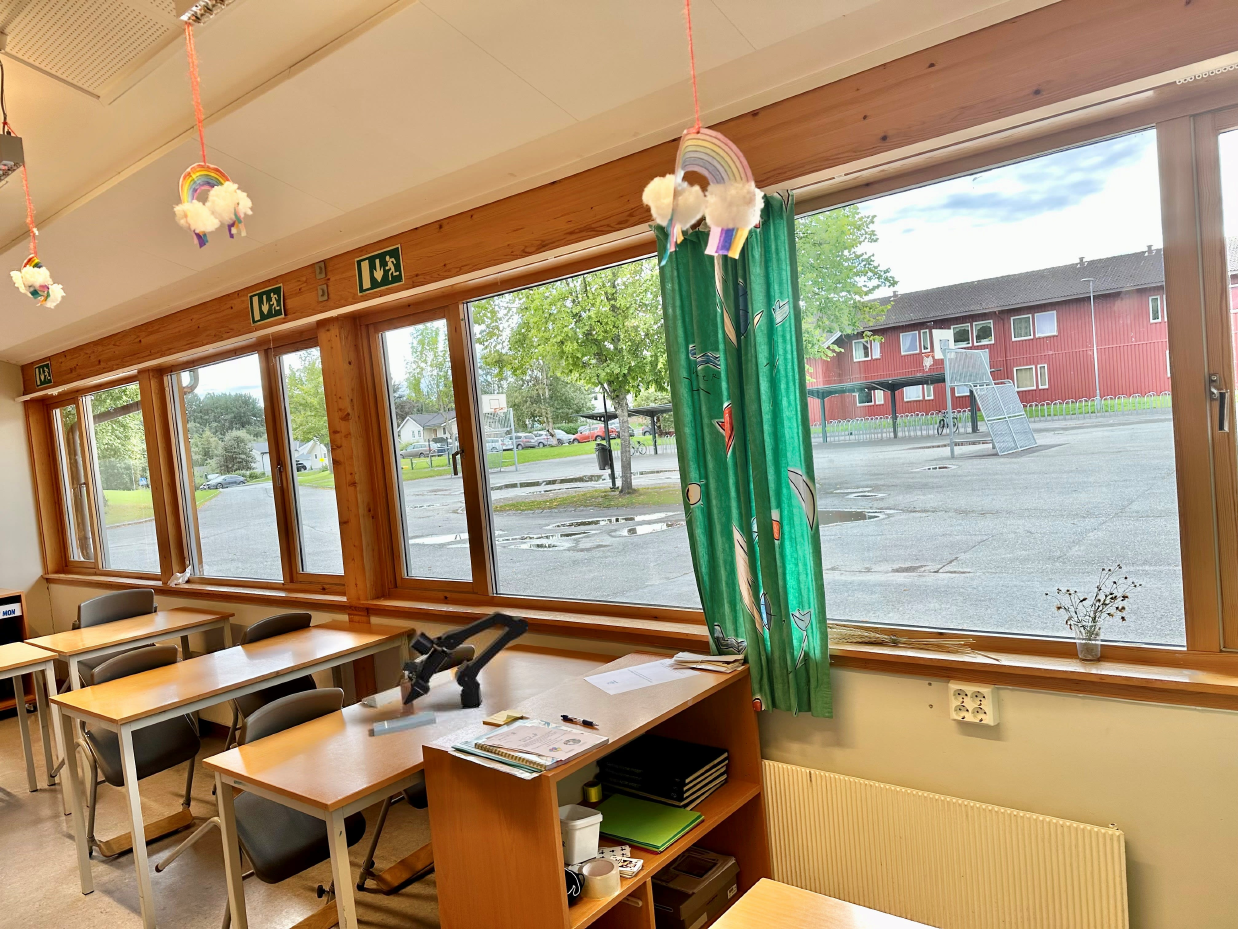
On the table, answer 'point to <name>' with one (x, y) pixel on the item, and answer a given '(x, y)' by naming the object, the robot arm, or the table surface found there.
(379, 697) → the decorative molding
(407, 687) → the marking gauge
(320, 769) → the table surface
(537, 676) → the table surface
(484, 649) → the robot arm
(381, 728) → the board
